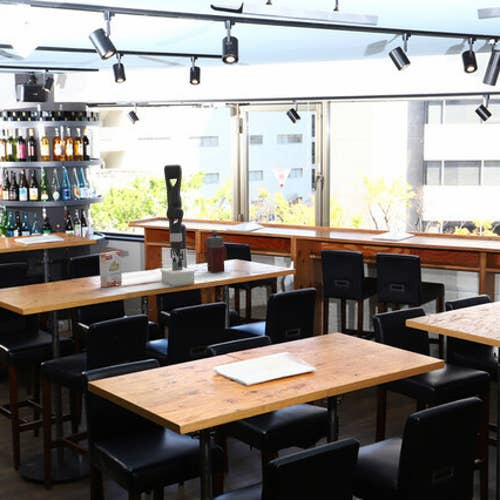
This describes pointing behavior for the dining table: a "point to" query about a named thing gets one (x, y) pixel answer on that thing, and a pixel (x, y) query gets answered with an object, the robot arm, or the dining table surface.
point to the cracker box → (110, 268)
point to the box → (178, 279)
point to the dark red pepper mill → (215, 253)
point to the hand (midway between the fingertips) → (177, 266)
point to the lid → (177, 270)
